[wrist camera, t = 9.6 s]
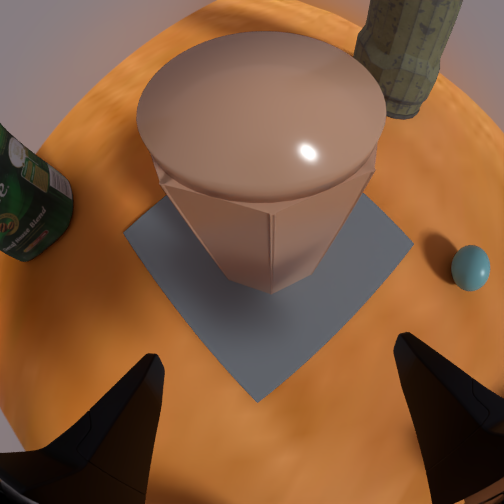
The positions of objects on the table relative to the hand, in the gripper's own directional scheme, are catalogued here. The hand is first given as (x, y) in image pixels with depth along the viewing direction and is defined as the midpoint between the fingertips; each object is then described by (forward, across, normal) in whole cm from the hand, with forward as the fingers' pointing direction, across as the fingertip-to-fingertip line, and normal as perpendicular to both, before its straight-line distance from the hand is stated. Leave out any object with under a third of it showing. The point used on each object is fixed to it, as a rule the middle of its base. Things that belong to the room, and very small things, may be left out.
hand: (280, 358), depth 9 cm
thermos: (+23, -15, -11) cm, 30 cm away
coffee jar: (+14, +22, -2) cm, 27 cm away
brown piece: (+11, 0, 0) cm, 11 cm away
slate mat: (+11, 0, +1) cm, 11 cm away
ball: (+9, -16, +4) cm, 18 cm away
